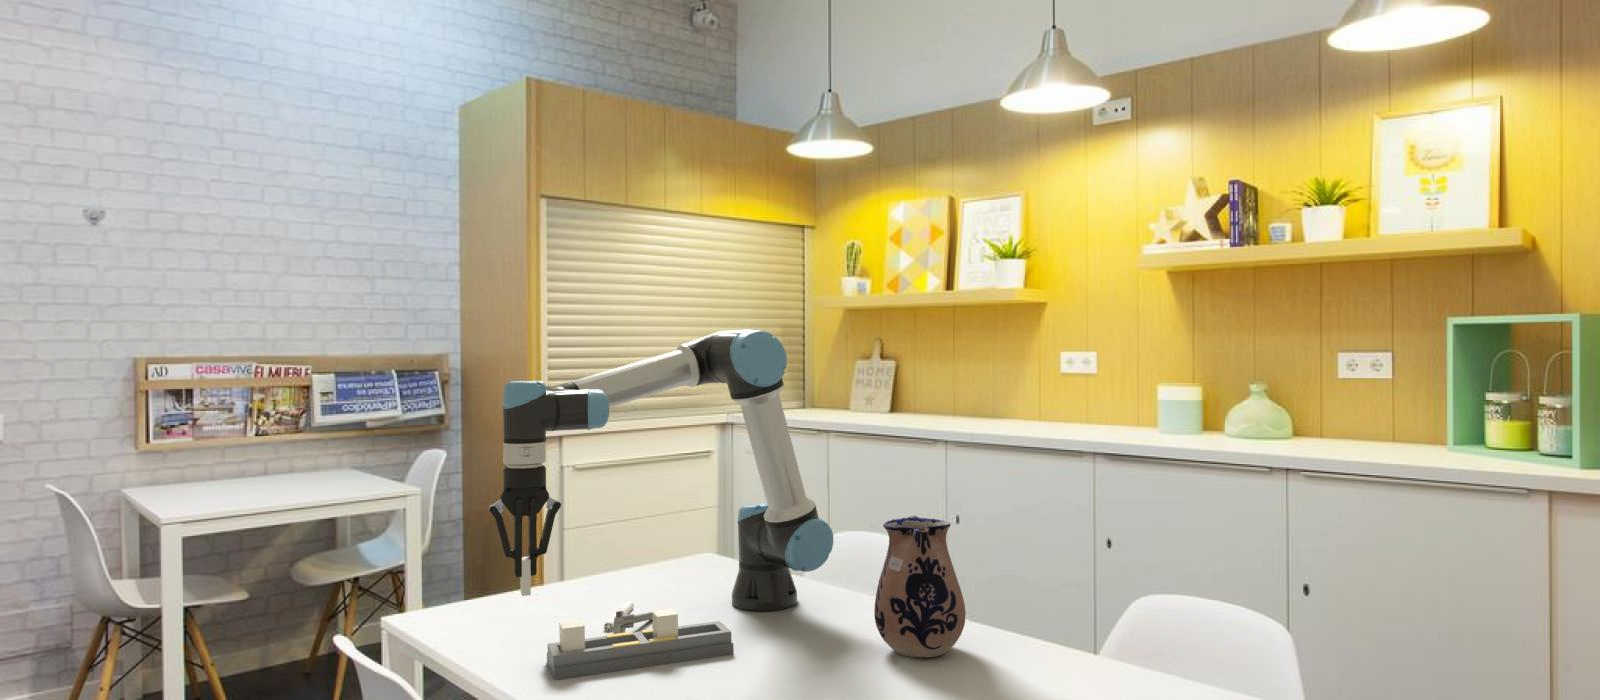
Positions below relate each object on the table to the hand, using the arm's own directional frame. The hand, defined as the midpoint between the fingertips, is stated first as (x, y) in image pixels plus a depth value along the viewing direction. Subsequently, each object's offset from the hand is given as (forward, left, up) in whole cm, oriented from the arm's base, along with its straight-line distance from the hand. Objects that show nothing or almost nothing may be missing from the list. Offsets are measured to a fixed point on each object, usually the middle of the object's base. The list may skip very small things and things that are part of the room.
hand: (525, 593), depth 175 cm
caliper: (-25, -19, -15) cm, 35 cm away
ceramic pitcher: (-72, +17, -15) cm, 76 cm away
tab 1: (-8, 0, -13) cm, 15 cm away
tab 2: (-26, 0, -13) cm, 29 cm away
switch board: (-21, 0, -15) cm, 26 cm away
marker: (-23, -28, -16) cm, 40 cm away
